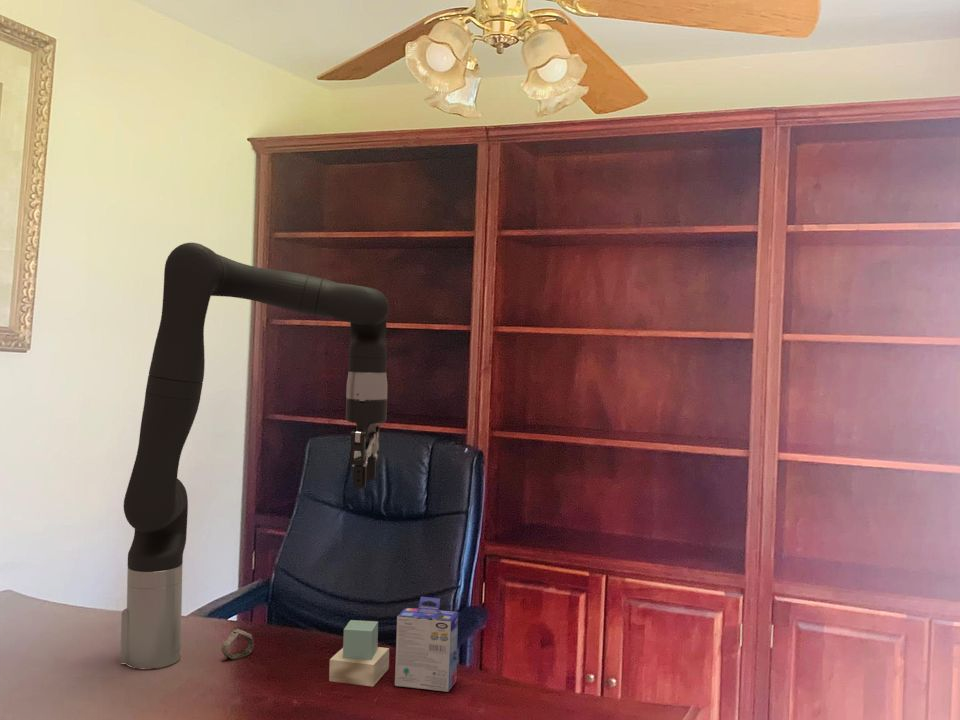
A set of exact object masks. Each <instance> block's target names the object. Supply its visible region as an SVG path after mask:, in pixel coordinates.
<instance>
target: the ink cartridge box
mask: <svg viewBox="0 0 960 720" xmlns="http://www.w3.org/2000/svg"><path fill="white" fill-rule="evenodd" d="M427 602H432V603H434V604H435V606H429V605H423V603H427ZM440 606H441V598H439V597H431V596H430V597H428V596H420V599H419V603H418V607H417V608H411V607H406V608H404V609H403V610H402V611H401V612H400V613H399V614H398V615H397V616H396V637H395V638H396V639H395V640H396V641H395V669H394V670H395V671H394V672H395V673H394V686H395V687H402V688H403V687H404V688H411V689H422V690H429V691H438V692H446V693H448V692H450V690H451V689H452V688H453V687H454V686H455V684H456V682H457V671H458V669H457V665H458V664H457V663H458V635H459V634H458V632H459V631H458V629H459V625H458V624H459V612H458V611H452V610H450V611H449V610H440Z"/></svg>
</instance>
